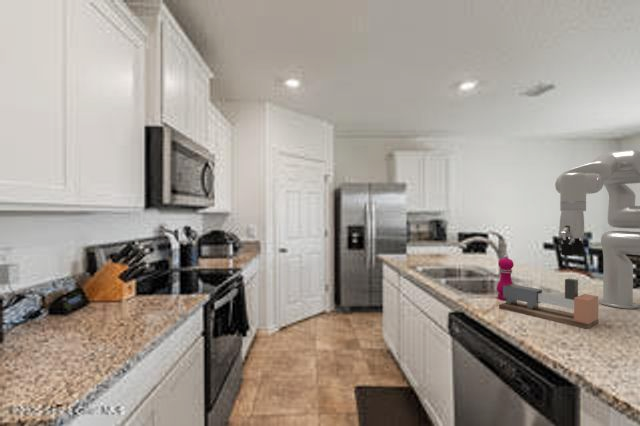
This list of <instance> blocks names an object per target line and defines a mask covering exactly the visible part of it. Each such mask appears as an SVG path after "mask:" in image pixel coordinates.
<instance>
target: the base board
mask: <svg viewBox="0 0 640 426" xmlns="http://www.w3.org/2000/svg"><path fill="white" fill-rule="evenodd" d="M498 306H499V307H498V309H502V310H506V311H510V312H514V313H517V314H522V315H527V316H531V317H535V318H540V319H544V320H548V321H552V322H556V323H561V324H564V325H569V326H573V327H577V328H582V329H590V328H592V327H593V326H596V325H598V324H599V320H600V319H599V318H598V319H597V320H595V321H593V322H591V323H589V324H585V323H580V322H576V321H574V312H573V313H572V312H569V311H565V310H564V311H562V310H558V309H554V308H550V307H544V306H540V305H538V308H537V309H534V310H530V309H527V302H522V301H517V304H513V305H508V304H506V302H503V303H501V304H499V305H498Z"/></svg>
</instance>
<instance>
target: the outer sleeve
mask: <svg viewBox="0 0 640 426" xmlns="http://www.w3.org/2000/svg"><path fill="white" fill-rule="evenodd" d="M537 292H543V289H541V288H534V287H529V286H525V285H523V286H522V285H517V284H514V283H513V284H507V285H503V297H504V298H506V300H505V303H506V304H508V305H513V304H517V302H522V303H526V304H527V309H530V310H534V309H537V308H538V306H539V304H542V302H537Z"/></svg>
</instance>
